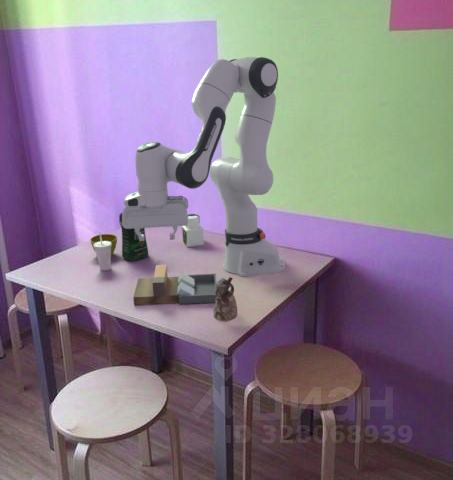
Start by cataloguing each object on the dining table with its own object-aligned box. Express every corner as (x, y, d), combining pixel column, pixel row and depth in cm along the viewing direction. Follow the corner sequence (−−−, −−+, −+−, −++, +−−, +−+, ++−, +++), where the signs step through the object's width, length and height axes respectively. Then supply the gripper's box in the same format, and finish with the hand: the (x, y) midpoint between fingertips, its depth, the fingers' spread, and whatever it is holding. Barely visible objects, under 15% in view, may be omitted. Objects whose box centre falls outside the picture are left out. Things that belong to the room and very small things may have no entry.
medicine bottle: (182, 241, 215) (181, 213, 211) (199, 239, 217) (198, 211, 213) (186, 247, 209) (185, 219, 205) (204, 245, 211) (202, 216, 206)
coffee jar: (131, 263, 195) (126, 215, 189) (119, 258, 200) (114, 211, 194) (152, 255, 201) (148, 209, 195) (139, 251, 207) (135, 206, 200)
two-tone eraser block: (167, 277, 175) (166, 264, 173) (165, 295, 162) (164, 282, 160) (156, 277, 175) (155, 264, 173) (153, 296, 162) (152, 282, 160)
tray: (216, 281, 178) (215, 273, 177) (217, 303, 163) (217, 294, 162) (180, 283, 177) (180, 275, 176) (179, 305, 162) (178, 296, 161)
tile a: (191, 283, 175) (194, 279, 175) (191, 290, 171) (194, 285, 170) (178, 276, 174) (181, 272, 174) (178, 283, 170) (181, 278, 169)
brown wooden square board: (180, 284, 176) (180, 276, 175) (179, 303, 163) (178, 295, 162) (138, 286, 176) (138, 278, 175) (134, 305, 163) (133, 297, 162)
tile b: (191, 293, 168) (194, 289, 168) (191, 300, 164) (194, 296, 163) (177, 286, 167) (181, 281, 167) (177, 293, 162) (180, 288, 162)
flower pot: (123, 251, 207) (121, 234, 204) (111, 261, 197) (109, 243, 195) (100, 250, 209) (98, 233, 206) (87, 259, 200) (85, 242, 197)
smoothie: (106, 263, 195) (102, 228, 190) (117, 267, 191) (114, 231, 187) (92, 269, 191) (88, 233, 186) (103, 273, 187) (99, 236, 182)
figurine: (209, 312, 157) (208, 276, 153) (231, 307, 160) (230, 271, 155) (219, 323, 151) (217, 285, 147) (241, 318, 153) (240, 280, 149)
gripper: (187, 192, 162) (190, 234, 167) (121, 196, 161) (126, 238, 166) (187, 198, 156) (190, 241, 161) (118, 201, 155) (123, 245, 160)
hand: (157, 239), depth 163 cm, fingers open, 8 cm apart
